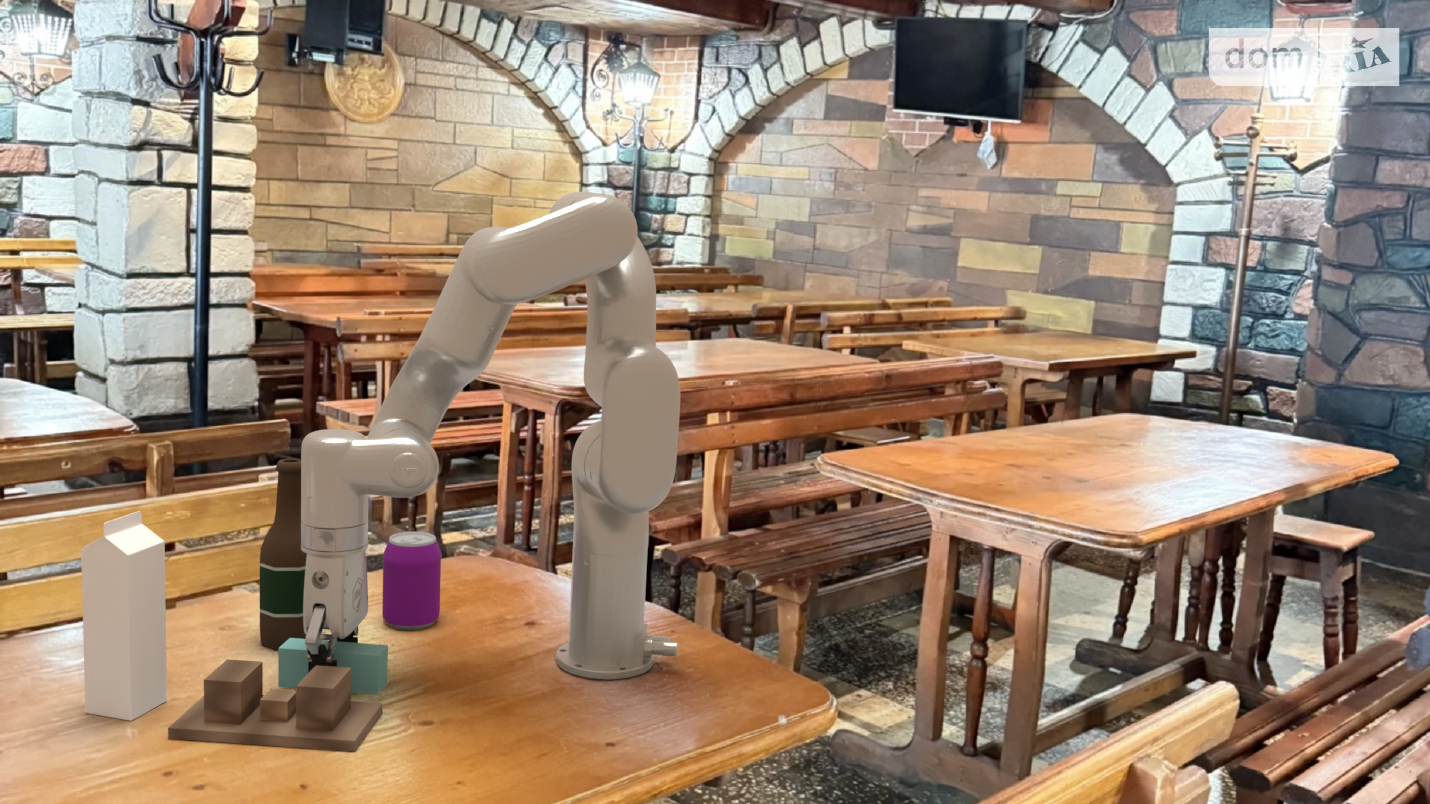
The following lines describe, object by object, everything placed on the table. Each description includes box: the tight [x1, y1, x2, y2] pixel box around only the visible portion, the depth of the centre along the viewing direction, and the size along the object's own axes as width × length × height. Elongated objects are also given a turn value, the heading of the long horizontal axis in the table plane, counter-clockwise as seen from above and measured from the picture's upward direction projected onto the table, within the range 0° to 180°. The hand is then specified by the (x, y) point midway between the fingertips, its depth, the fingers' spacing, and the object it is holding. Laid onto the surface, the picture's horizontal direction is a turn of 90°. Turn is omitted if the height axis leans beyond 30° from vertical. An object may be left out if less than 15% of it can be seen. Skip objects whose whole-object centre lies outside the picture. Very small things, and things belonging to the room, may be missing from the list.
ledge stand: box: [167, 659, 384, 753], centre depth 138 cm, size 20×10×6 cm, turn 88°
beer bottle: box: [259, 457, 307, 651], centre depth 161 cm, size 8×8×24 cm
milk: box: [80, 510, 168, 722], centre depth 139 cm, size 6×6×22 cm
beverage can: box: [381, 531, 442, 631], centre depth 172 cm, size 8×8×12 cm
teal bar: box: [277, 638, 389, 696], centre depth 150 cm, size 12×4×5 cm, turn 87°
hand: (333, 678), depth 150 cm, fingers open, 6 cm apart
